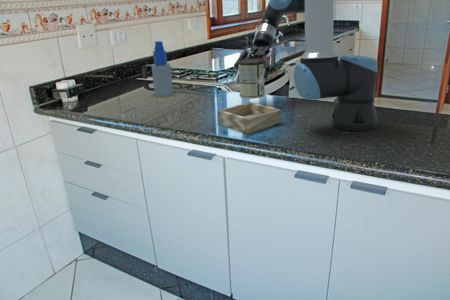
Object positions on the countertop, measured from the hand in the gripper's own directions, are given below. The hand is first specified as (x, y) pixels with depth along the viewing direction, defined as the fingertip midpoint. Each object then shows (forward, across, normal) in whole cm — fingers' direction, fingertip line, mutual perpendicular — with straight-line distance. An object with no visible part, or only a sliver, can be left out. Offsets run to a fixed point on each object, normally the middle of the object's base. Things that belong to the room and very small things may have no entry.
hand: (248, 83), depth 147 cm
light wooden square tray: (+18, -8, +3) cm, 20 cm away
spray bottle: (0, +51, -14) cm, 53 cm away
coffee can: (+2, 0, -6) cm, 6 cm away
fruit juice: (-34, +22, -49) cm, 63 cm away
